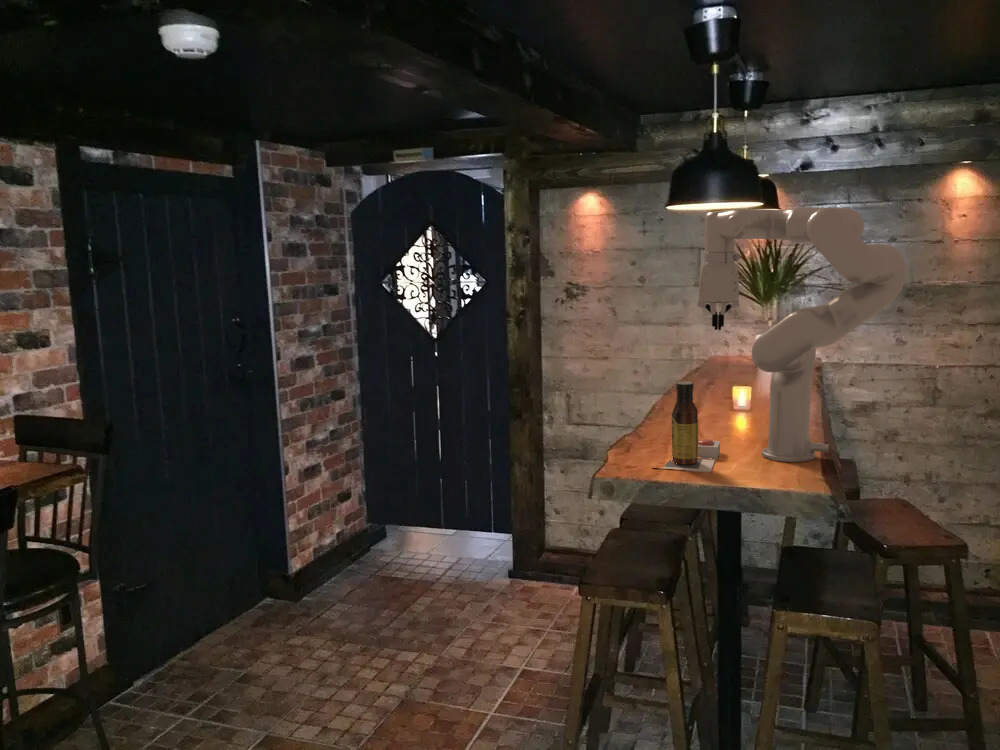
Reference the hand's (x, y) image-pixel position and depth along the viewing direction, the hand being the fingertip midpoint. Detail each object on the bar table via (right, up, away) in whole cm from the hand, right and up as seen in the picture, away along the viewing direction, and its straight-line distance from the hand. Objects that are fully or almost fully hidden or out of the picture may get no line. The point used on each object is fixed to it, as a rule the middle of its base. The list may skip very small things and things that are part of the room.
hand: (717, 329), depth 218 cm
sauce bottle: (-13, -34, -17) cm, 40 cm away
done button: (-6, -32, -9) cm, 33 cm away
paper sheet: (-13, -34, -17) cm, 40 cm away
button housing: (-6, -32, -8) cm, 34 cm away
